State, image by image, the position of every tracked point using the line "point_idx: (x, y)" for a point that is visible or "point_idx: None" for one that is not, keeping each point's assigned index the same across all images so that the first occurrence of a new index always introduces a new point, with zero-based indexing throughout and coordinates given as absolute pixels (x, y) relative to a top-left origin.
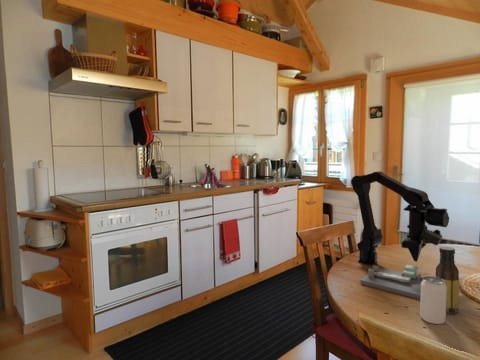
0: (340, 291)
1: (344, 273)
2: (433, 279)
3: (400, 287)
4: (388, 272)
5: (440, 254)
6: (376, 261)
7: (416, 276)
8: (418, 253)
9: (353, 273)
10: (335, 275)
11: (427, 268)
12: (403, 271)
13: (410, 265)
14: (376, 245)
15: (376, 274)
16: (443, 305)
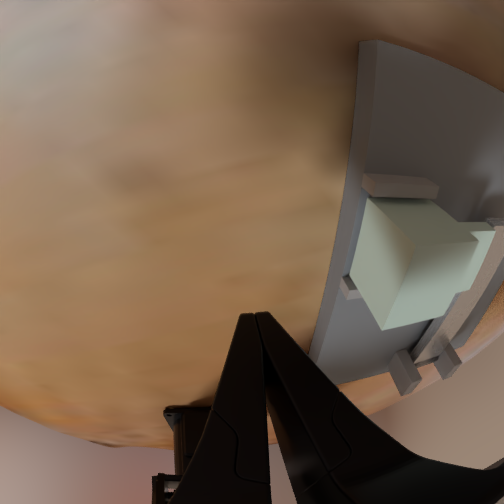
0: (496, 331)
1: (381, 396)
2: None
3: None
4: (361, 340)
5: None
6: (175, 409)
7: (415, 203)
8: (355, 408)
9: (372, 389)
10: None
11: (14, 210)
12: (463, 289)
13: (397, 305)
14: (164, 484)
15: (445, 345)
16: None
